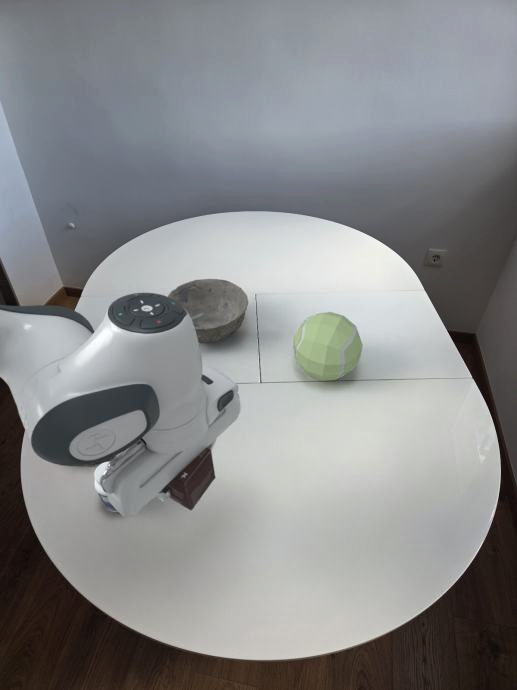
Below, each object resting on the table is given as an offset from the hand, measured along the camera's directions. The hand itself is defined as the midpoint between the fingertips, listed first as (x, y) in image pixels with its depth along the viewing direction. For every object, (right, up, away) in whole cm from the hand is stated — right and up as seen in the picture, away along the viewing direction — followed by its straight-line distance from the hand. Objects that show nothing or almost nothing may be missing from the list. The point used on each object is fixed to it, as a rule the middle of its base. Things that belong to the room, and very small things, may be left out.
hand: (185, 475), depth 60 cm
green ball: (+26, +12, +43) cm, 52 cm away
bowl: (-3, +22, +53) cm, 58 cm away
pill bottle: (-16, -10, +20) cm, 27 cm away
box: (0, -2, +2) cm, 3 cm away
